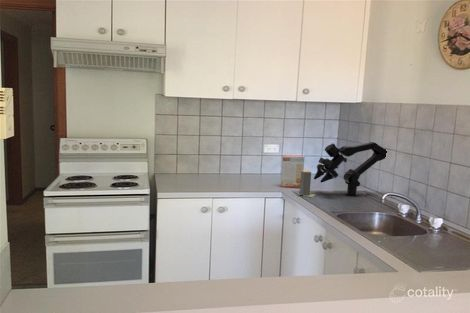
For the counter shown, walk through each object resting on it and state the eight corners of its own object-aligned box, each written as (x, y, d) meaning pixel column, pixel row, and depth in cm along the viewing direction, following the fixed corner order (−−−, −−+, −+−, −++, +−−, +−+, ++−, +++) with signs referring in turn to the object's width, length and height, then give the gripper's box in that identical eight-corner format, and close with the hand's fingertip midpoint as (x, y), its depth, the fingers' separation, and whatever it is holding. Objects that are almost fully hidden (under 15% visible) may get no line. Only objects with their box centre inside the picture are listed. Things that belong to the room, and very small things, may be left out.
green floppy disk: (303, 193, 262) (303, 192, 262) (315, 195, 258) (315, 194, 258) (299, 195, 256) (299, 194, 256) (311, 197, 252) (311, 196, 252)
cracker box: (301, 186, 284) (303, 155, 281) (302, 188, 278) (304, 156, 275) (280, 185, 283) (282, 154, 280) (281, 187, 277) (283, 155, 274)
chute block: (306, 193, 259) (308, 170, 257) (309, 195, 255) (311, 171, 253) (299, 193, 258) (301, 170, 256) (302, 195, 254) (304, 171, 252)
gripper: (320, 151, 265) (303, 168, 264) (334, 155, 247) (316, 174, 246) (331, 163, 268) (314, 180, 267) (345, 168, 250) (327, 187, 249)
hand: (317, 180), depth 257 cm, fingers open, 9 cm apart
